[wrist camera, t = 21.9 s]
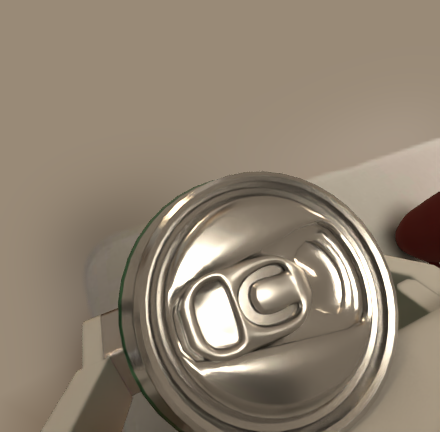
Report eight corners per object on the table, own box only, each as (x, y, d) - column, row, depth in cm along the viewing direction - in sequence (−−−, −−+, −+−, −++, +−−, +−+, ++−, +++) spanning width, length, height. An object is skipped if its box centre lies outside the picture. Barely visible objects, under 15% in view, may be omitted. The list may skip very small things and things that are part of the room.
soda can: (262, 335, 16) (478, 397, 5) (169, 374, 15) (164, 578, 4) (229, 245, 17) (341, 124, 6) (141, 275, 16) (68, 193, 5)
